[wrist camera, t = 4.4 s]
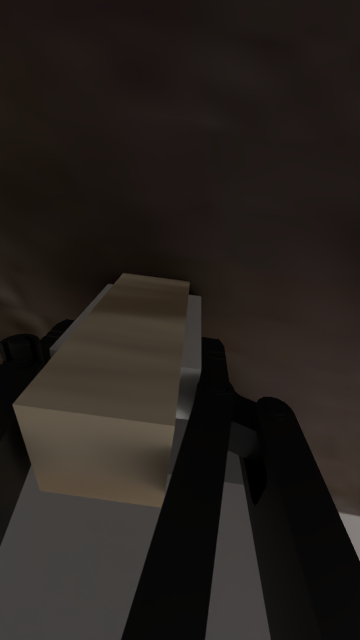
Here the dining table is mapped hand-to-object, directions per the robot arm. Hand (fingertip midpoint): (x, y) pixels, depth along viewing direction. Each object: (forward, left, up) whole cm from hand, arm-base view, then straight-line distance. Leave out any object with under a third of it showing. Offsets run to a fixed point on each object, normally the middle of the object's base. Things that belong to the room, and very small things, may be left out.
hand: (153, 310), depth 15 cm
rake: (+8, -3, -1) cm, 9 cm away
